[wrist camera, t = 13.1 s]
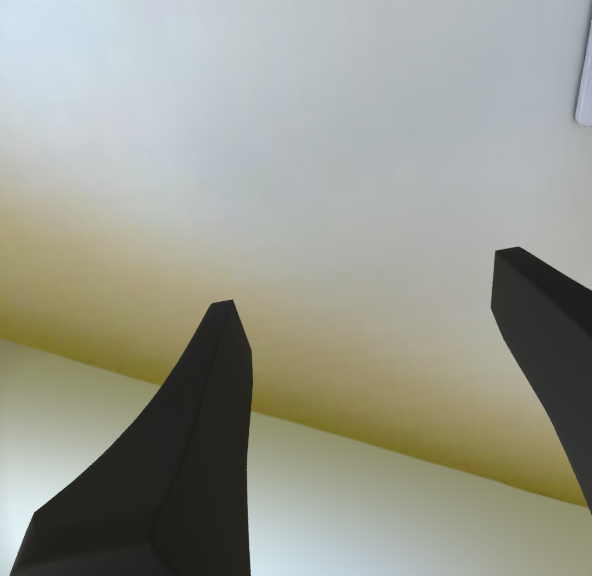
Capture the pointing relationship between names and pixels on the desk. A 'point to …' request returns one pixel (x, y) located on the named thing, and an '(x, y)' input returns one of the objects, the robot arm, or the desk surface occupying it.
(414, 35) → the desk surface
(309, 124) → the desk surface
